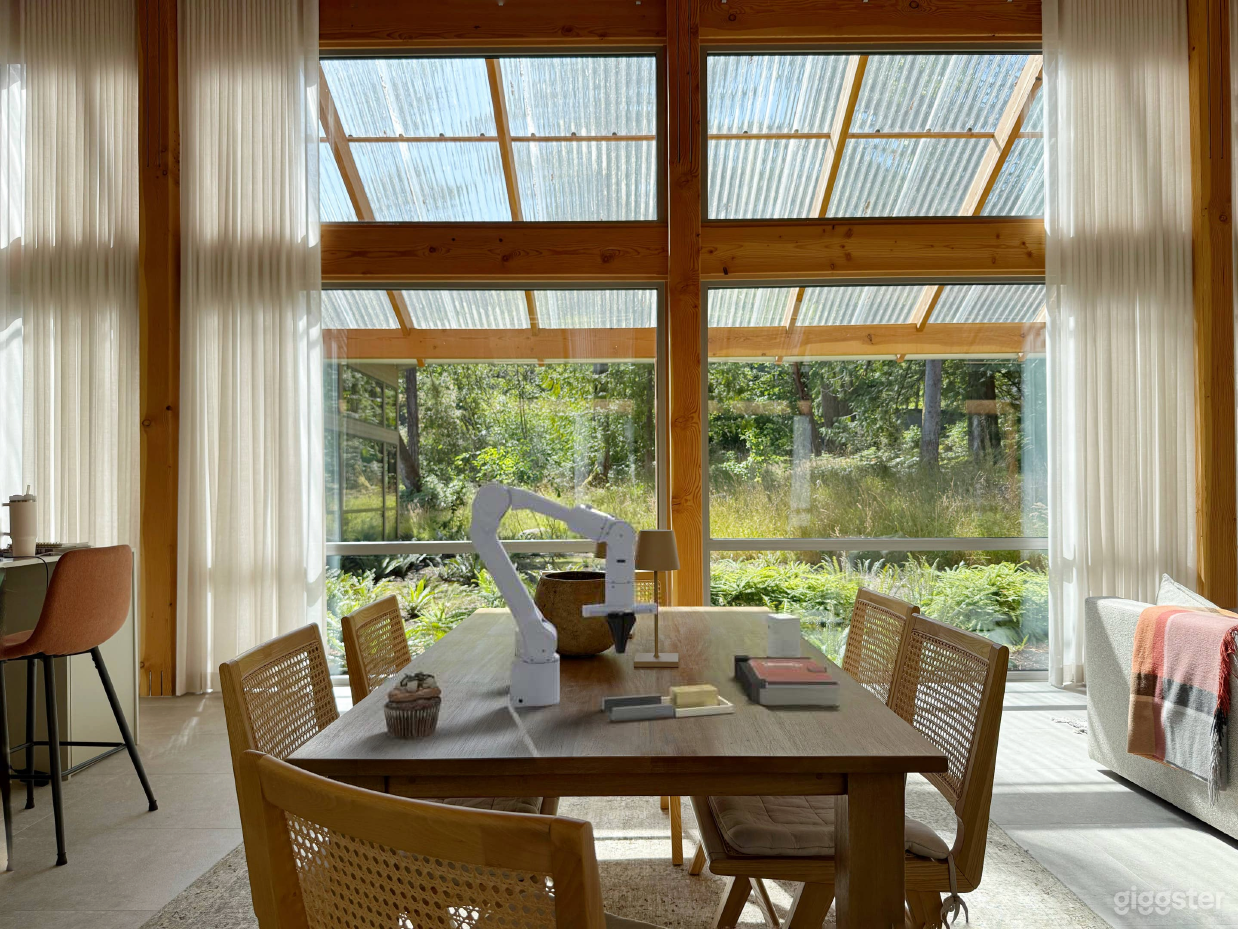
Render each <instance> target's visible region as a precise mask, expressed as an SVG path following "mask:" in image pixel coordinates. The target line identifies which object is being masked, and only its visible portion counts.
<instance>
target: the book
mask: <svg viewBox="0 0 1238 929" xmlns="http://www.w3.org/2000/svg"><path fill="white" fill-rule="evenodd" d="M733 656H734V659H733V660H734V662H733V663H734V669H733V670H734V678H735V680H739V682H740V683H741V686H742V687H743V689H744V690H745V693H746V694H747V696H748V697H749V700H750V701H751V702H754V703H755V704H757V705H759V706H760V707H764V708H765V707H771V708H772V707H775V708H776V707H777V708H778V707H783V708H784V707H788V708H790V707H792V708H794V706H795V707H796V708H797V707H799V706H800V707H801V706H833V707H834V706H835V707H837V706H841V705H840V703H839V702H838V690H839V689H840V688H841V687H840V686H841V685H840V684H839V683H838V682H837V681H836V680H835V679H833V677H832V676H830V675H829V673H828V669H827V667H824V666H819V664H818V663H816V661H814V660H813V659H812V658H811V657H809V656H808V657H804V656H801V657H768V656H765V657H764V656H762V657H758V656H756V657H755V656H753V657H752V656H749V655H747V654H742V655H741V654H733Z"/></svg>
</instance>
